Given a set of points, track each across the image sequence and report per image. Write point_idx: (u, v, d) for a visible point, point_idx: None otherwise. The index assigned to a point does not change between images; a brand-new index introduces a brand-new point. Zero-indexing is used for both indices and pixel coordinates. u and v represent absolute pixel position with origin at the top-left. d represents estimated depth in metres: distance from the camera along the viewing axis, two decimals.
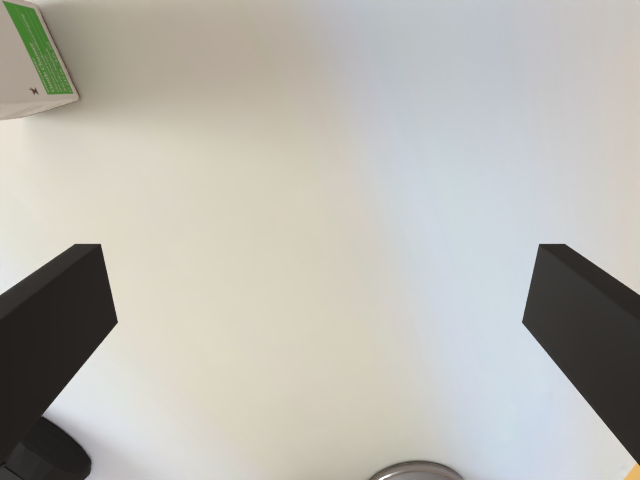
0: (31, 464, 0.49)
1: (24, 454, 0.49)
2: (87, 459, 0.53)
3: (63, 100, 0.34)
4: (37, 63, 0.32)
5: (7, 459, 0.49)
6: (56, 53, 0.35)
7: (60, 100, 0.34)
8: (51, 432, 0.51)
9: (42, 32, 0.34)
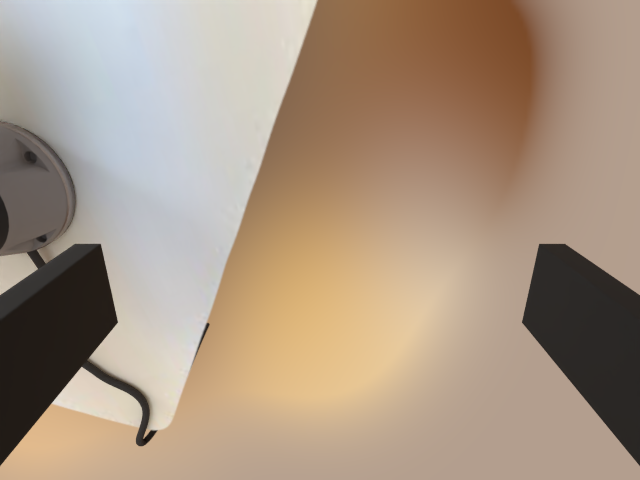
0: None
1: None
2: None
3: None
4: None
5: None
6: None
7: None
8: None
9: None
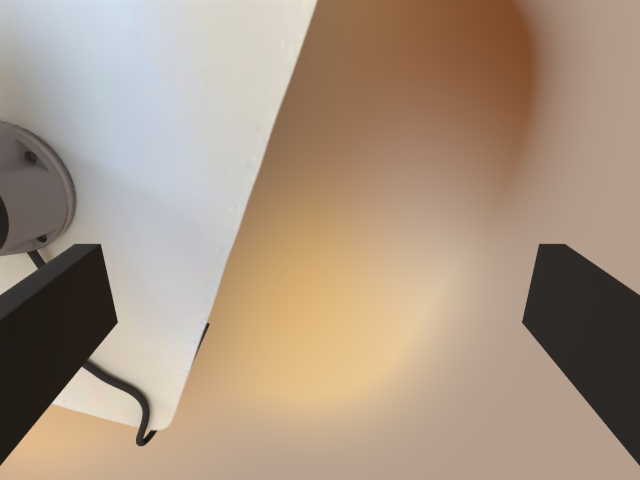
0: None
1: None
2: None
3: None
4: None
5: None
6: None
7: None
8: None
9: None
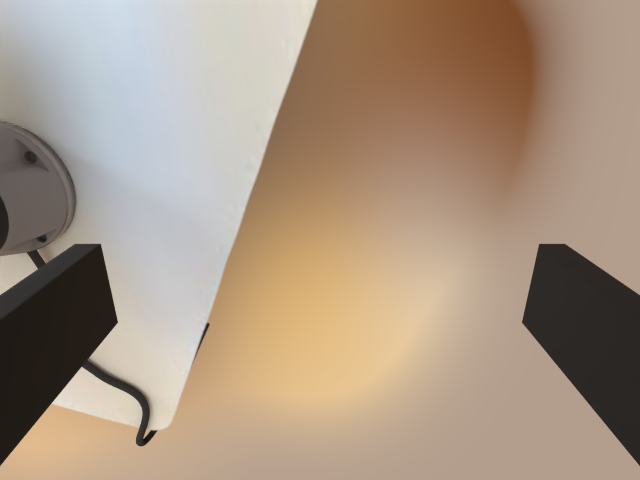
0: None
1: None
2: None
3: None
4: None
5: None
6: None
7: None
8: None
9: None
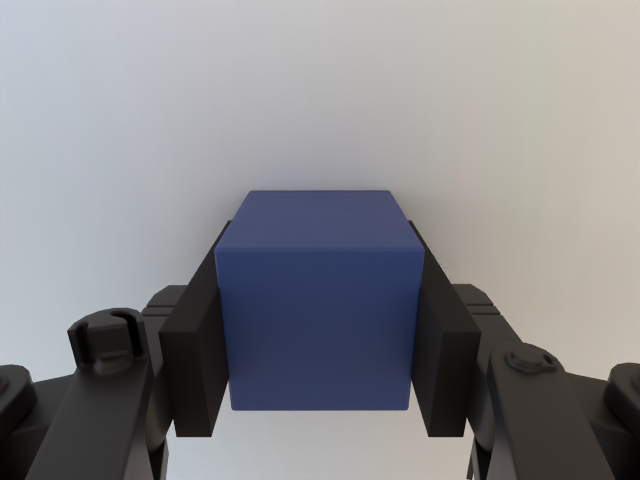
0: None
1: None
2: None
3: None
4: None
5: None
6: None
7: None
8: None
9: None
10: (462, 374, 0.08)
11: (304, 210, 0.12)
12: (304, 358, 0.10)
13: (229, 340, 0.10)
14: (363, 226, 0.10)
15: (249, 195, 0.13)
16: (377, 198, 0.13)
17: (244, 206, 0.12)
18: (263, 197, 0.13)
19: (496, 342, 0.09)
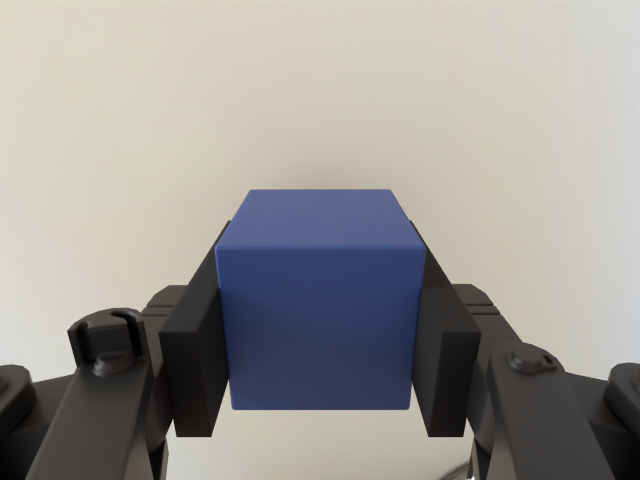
0: None
1: None
2: None
3: None
4: None
5: None
6: None
7: None
8: None
9: None
10: (462, 374, 0.08)
11: (305, 209, 0.12)
12: (305, 357, 0.10)
13: (229, 339, 0.10)
14: (365, 224, 0.10)
15: (249, 194, 0.13)
16: (378, 197, 0.13)
17: (244, 204, 0.12)
18: (263, 196, 0.13)
19: (496, 342, 0.09)
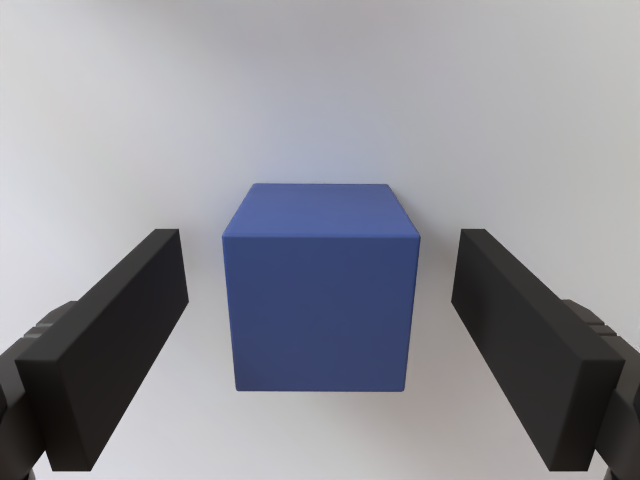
0: None
1: None
2: None
3: None
4: None
5: None
6: None
7: None
8: None
9: None
10: (597, 405, 0.07)
11: (307, 201, 0.12)
12: (306, 340, 0.11)
13: (235, 322, 0.11)
14: (363, 215, 0.11)
15: (253, 187, 0.14)
16: (376, 191, 0.13)
17: (248, 197, 0.13)
18: (267, 189, 0.13)
19: (628, 368, 0.08)
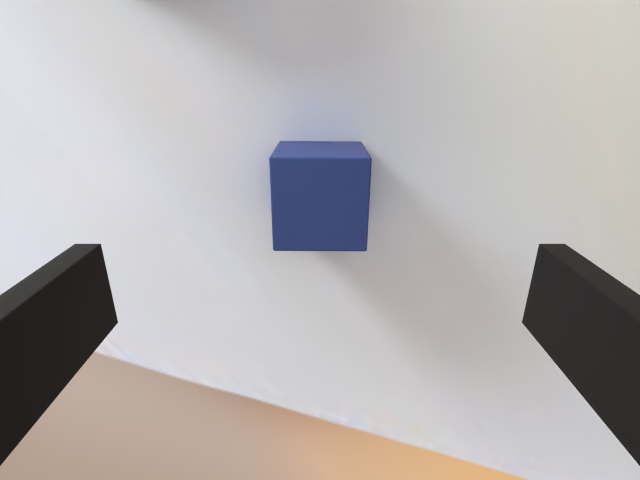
0: None
1: None
2: None
3: None
4: None
5: None
6: None
7: None
8: None
9: None
10: None
11: (312, 147, 0.21)
12: (312, 218, 0.20)
13: (274, 207, 0.20)
14: (343, 152, 0.20)
15: (280, 142, 0.23)
16: (353, 144, 0.22)
17: (278, 145, 0.22)
18: (288, 143, 0.23)
19: None
